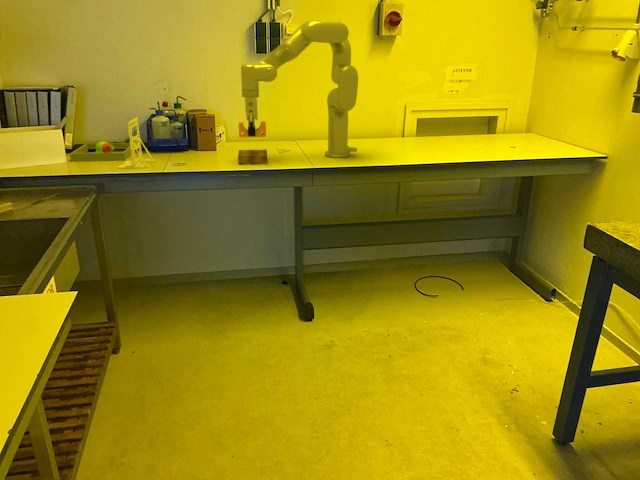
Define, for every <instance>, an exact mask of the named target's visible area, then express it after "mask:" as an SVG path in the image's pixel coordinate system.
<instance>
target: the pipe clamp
mask: <svg viewBox="0 0 640 480" xmlns="http://www.w3.org/2000/svg"><path fill="white" fill-rule="evenodd" d="M266 123H267V122H266V121H265V120H263V121H260V125H259V126H258V127H257V128H255V136H248V128H246V126H245V125H244V121H238V137H239V139H240V138H266V137H267V126H266V125H267V124H266Z"/></svg>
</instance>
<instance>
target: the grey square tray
mask: <svg viewBox="0 0 640 480" xmlns="http://www.w3.org/2000/svg"><path fill="white" fill-rule="evenodd" d="M108 143H109V144H110V145H113V147H114V149H126V150H123V151H122V152H113V153H95V152H89V151H88V149H96V145H97V142H95V143H94V142H91V143H89V142H87V143H84V144H83V145H81V146H80V147H78V148H77V149H75V150H73V151H71V152H70V153H69V156H70V162H102V161H103V162H104V161H106V162H107V161H108V162H109V161H110V162H113V161H115V162H117V161H127V159H128V158H130V157H131V156H132V154H131V149H130V142H112V143H111V142H108Z"/></svg>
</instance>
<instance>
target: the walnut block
mask: <svg viewBox="0 0 640 480" xmlns="http://www.w3.org/2000/svg"><path fill="white" fill-rule="evenodd" d="M237 160H238V161H237V163H238V165H239V166H242V165H244V166H245V165H246V164H247V165H248V164H249V165H268V150H267V149H239V150H238V154H237ZM249 165H248V166H249Z"/></svg>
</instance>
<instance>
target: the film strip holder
mask: <svg viewBox="0 0 640 480" xmlns="http://www.w3.org/2000/svg"><path fill="white" fill-rule="evenodd" d="M134 127H135V128H136V133H137V134H136V135H134V136H133V128H134ZM127 132H128V134H127V135H128V139H129V143H130V149H131V155H130V157H131V160H124V161H123V162H122V164H121V165H118V166H117V167H116V168H117V169H150V165H148V164H147V163H155V162H156V159H154V158H153V157H152V156H151V153H150V152H149V151H148V148H147V147H146V146H145V144H144V143H143V141H142V138H140V137H141V134H140V127H139V119H138V117H134V118H133V119H132V120H129V121H127ZM142 147H143V148H144V150H145V151H146V153H147V155H148V157H149V158H145V159H144V158H143V152H142ZM135 150H136V151H135ZM136 152H137V154H138V158H137V159H136ZM142 163H143V164H142ZM141 164H142V165H141Z"/></svg>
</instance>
